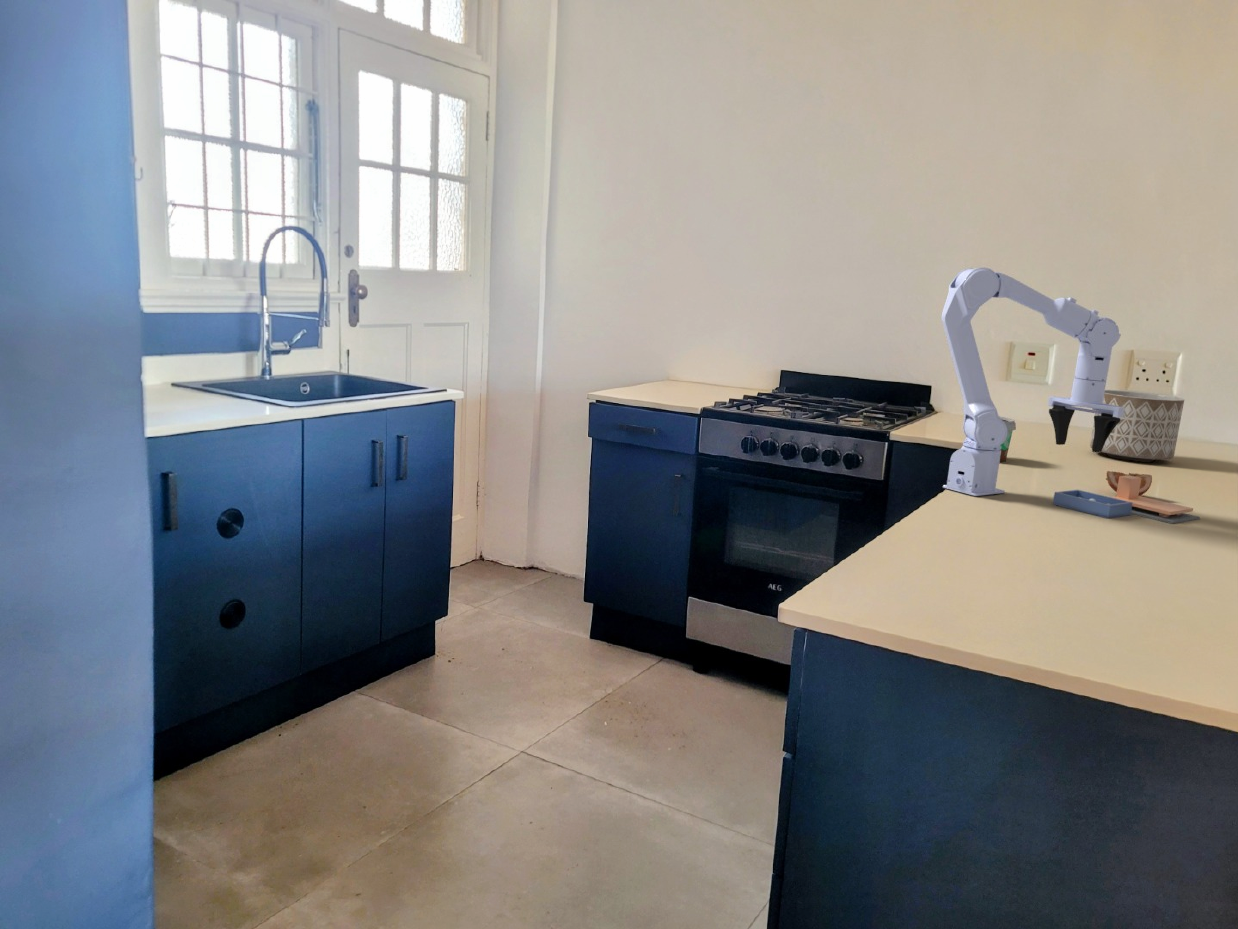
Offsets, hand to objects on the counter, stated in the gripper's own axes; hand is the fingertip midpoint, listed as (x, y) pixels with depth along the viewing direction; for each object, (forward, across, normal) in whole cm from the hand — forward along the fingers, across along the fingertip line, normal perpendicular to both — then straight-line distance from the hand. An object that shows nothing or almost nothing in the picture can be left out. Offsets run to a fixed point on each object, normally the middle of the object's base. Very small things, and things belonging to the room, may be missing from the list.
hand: (1078, 448), depth 185 cm
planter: (+10, +25, -67) cm, 72 cm away
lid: (+9, -13, -5) cm, 17 cm away
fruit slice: (+10, -2, -16) cm, 19 cm away
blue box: (+10, -8, +5) cm, 14 cm away
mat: (+10, -14, -5) cm, 18 cm away
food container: (+10, +34, -24) cm, 42 cm away
